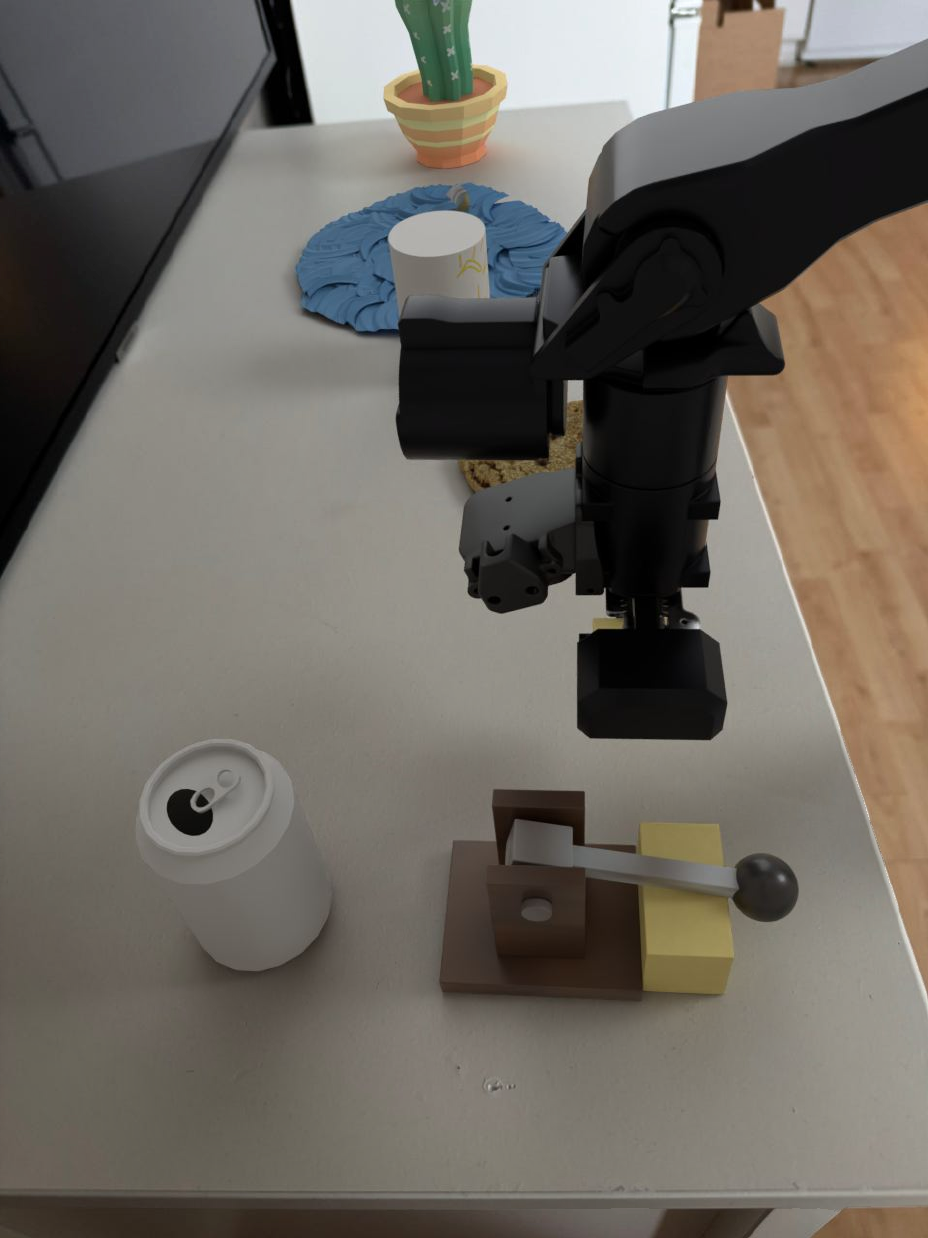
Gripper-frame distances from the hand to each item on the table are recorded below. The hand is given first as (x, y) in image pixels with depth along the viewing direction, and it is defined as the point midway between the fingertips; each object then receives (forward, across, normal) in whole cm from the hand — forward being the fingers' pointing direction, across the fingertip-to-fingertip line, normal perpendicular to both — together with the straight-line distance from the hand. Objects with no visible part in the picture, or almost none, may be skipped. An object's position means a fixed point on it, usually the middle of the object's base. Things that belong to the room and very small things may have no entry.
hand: (633, 678), depth 52 cm
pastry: (+7, -26, -4) cm, 27 cm away
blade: (+3, +11, 0) cm, 11 cm away
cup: (+7, -44, -15) cm, 46 cm away
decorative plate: (+7, -62, -18) cm, 65 cm away
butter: (+7, +11, +2) cm, 13 cm away
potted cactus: (+7, -91, -19) cm, 93 cm away
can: (+7, +11, -20) cm, 24 cm away
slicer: (+7, +11, -5) cm, 14 cm away
